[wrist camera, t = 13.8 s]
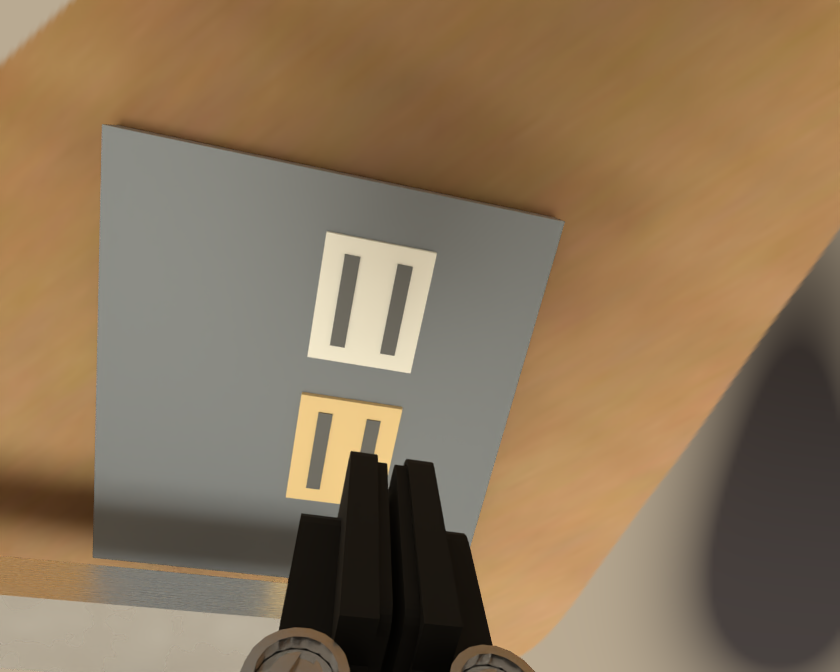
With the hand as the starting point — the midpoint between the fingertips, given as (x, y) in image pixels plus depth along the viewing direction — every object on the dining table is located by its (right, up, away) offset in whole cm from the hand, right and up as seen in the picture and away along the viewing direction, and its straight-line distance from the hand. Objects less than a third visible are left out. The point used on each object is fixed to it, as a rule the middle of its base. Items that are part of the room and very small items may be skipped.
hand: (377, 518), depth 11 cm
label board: (-5, +1, +18) cm, 18 cm away
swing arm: (-14, -8, +14) cm, 21 cm away
